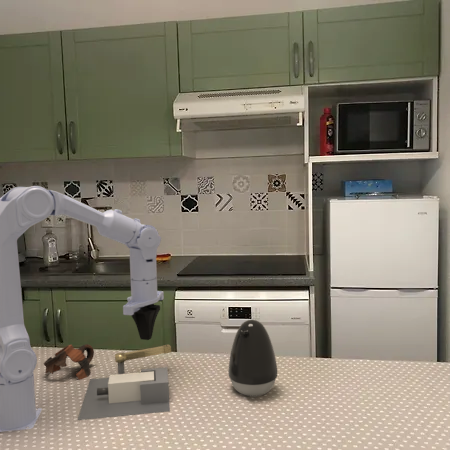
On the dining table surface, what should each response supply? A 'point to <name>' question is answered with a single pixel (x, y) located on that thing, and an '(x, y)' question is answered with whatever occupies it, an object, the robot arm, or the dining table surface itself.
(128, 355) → the brass ball-knob lever
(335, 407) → the dining table surface
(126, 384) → the plug
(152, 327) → the robot arm
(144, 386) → the socket
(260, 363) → the pump dispenser
